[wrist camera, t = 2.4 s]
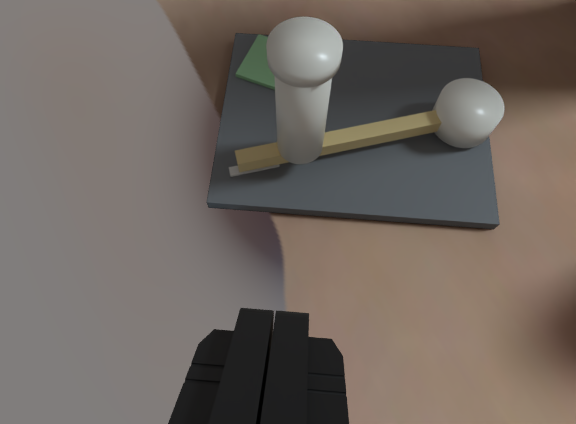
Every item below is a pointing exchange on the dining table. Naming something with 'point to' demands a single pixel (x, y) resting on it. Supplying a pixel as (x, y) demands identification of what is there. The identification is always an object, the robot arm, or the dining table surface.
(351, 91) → the dark grey base plate
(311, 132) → the domed post with rod
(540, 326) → the dining table surface
